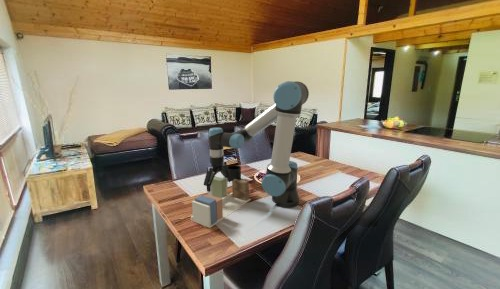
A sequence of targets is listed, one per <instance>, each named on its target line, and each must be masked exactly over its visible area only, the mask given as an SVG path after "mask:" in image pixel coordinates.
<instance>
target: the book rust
mask: <svg viewBox="0 0 500 289" xmlns="http://www.w3.org/2000/svg"><path fill="white" fill-rule="evenodd" d="M205 196H206V197H209V198H213V199H216V208H217V220H219V219H220V218H222V217H223V208H222V199H221V198H218V197H215V196H212V195H208V194H207V195H205Z"/></svg>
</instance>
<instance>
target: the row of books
mask: <svg viewBox="0 0 500 289" xmlns="http://www.w3.org/2000/svg"><path fill="white" fill-rule="evenodd" d="M221 199H222V208H223V217H222V218H220V219H219V220H217V222H215V223H214V224H212V225H211V217H210V206H208V205H205V204H202V203H199V202H196V201H195V200H192V201H191V208H192V209H191V210H192V215H191V216H190V221H192V222H194V223H197V224H199V225H201V226H204V227H207V228H208V229H210V228H212V227H214V226H216V224H218V223H219V222H221V221H222V220H224V219H225V218H226V217H228V216H230V214H231V215H232V213H234V212H235V211H237V210H238V209H240V208H241V207H243V206H244V205H246V204H247V203H248V202H250V201H251V200H252V198H249V199H248V200H246V201H244V200H241V199H237V198H234V197H233V192H230V193H228V194H227V196H225V197H223V198H221Z"/></svg>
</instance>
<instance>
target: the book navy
mask: <svg viewBox="0 0 500 289" xmlns="http://www.w3.org/2000/svg"><path fill="white" fill-rule="evenodd" d="M206 196H207V195H203V194H201V195H199V196H197V197H195V198H194V201H196V202H199V203H202V204H205V205H208V206H210V217H211V225H212V224H214V223H215V222H217V208H216V199H213V198H209V197H206Z"/></svg>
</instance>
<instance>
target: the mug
mask: <svg viewBox="0 0 500 289" xmlns="http://www.w3.org/2000/svg"><path fill="white" fill-rule="evenodd" d="M227 167H228V170H229V172H230V175H229V178H228V182H229V183H231V182H232V180H234V179H238V180H242V167H241V166H240V165H238V164H237V165H235V164H233V165H227Z"/></svg>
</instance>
